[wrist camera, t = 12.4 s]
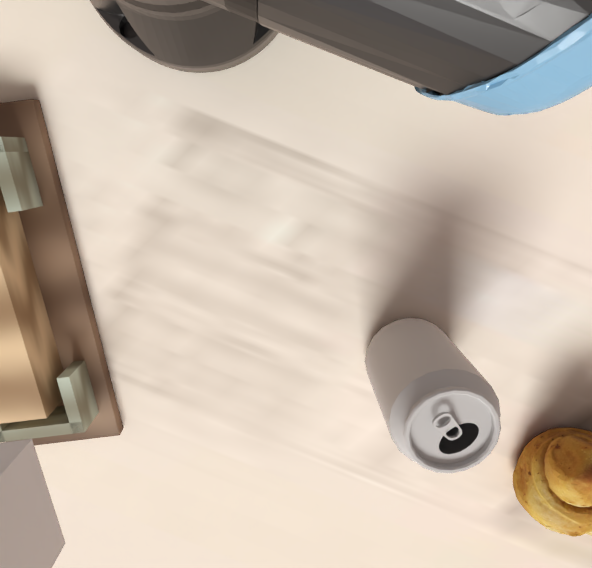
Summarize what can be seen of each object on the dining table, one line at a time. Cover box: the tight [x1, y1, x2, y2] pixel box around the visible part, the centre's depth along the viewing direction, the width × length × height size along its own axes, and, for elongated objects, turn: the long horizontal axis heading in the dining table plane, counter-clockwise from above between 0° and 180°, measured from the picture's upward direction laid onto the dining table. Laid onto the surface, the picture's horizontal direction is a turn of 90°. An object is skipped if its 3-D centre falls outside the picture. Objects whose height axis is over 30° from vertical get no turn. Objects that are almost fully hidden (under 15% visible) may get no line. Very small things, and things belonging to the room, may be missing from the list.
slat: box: [0, 187, 63, 424], centre depth 35 cm, size 18×4×4 cm, turn 6°
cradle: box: [0, 99, 123, 445], centre depth 36 cm, size 28×10×4 cm, turn 6°
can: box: [365, 318, 501, 473], centre depth 35 cm, size 8×8×12 cm
